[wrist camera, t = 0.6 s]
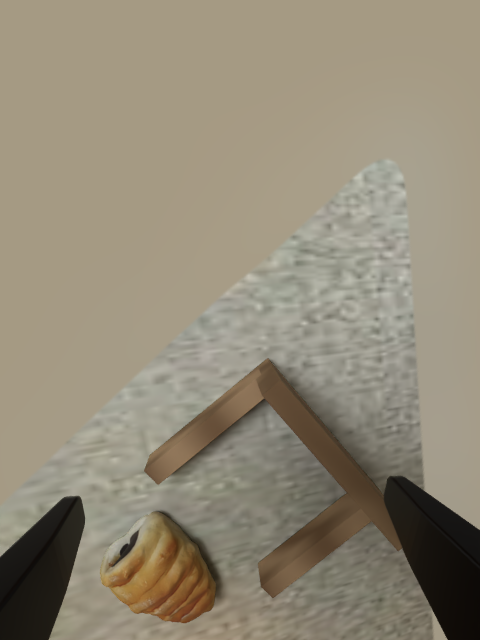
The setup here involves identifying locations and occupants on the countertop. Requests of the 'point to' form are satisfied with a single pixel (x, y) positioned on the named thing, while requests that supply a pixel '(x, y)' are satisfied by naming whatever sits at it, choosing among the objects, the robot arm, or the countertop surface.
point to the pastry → (159, 571)
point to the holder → (361, 491)
